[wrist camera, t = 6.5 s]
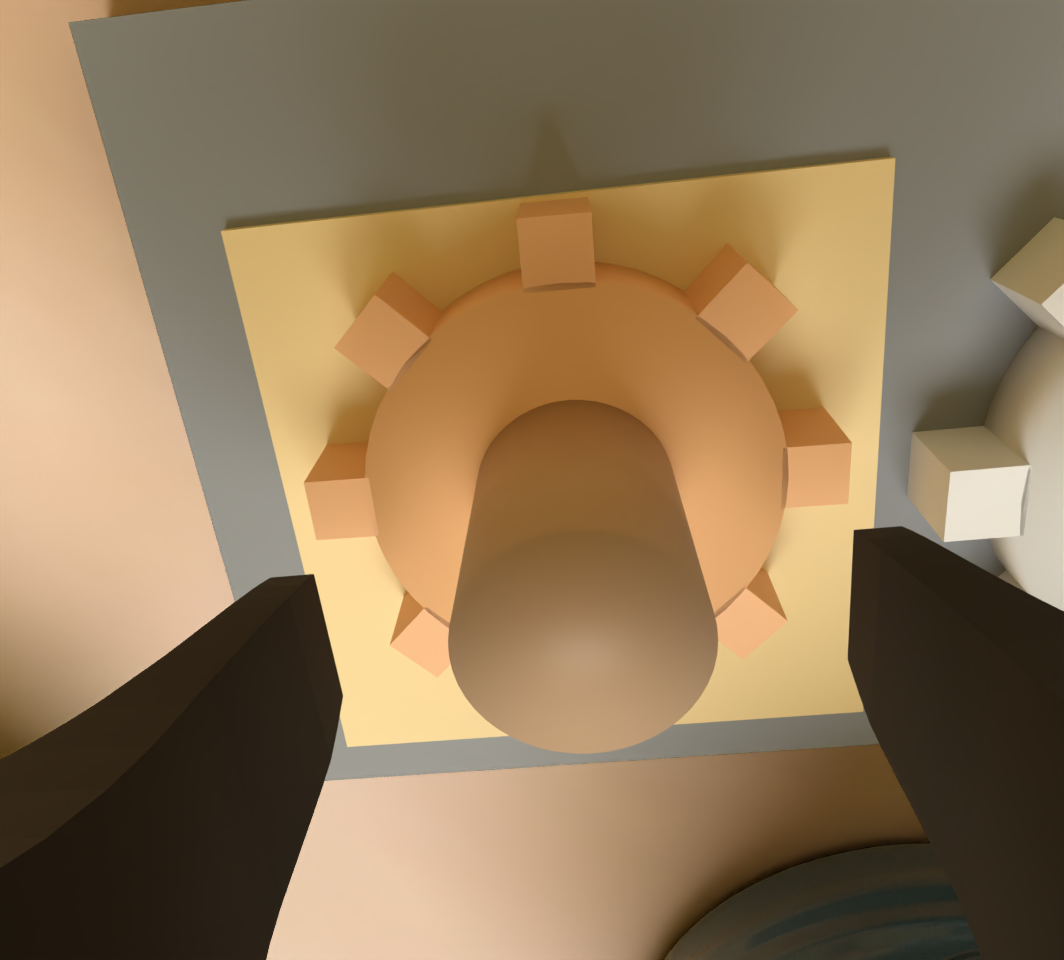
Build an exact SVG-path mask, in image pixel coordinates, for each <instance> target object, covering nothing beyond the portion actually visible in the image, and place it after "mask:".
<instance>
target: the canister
mask: <svg viewBox="0 0 1064 960" xmlns="http://www.w3.org/2000/svg"><path fill="white" fill-rule="evenodd" d="M664 960H982V957H981V955H980V952H979V949H978V947H977V944H976V942H975V939H974V937H973V934H972V932H971V929H970V926H969V924H968V921H967V919H966V916H965V914H964V911H963V909H962V906H961V904H960V902H959V900H958V898H957V895H956V893H955V891H954V889H953V887H952V885H951V882H950V880H949V878H948V876H947V874H946V872H945V870H944V868H943V866H942V864H941V862H940V860H939V858H938V856H937V854H936V852H935V850H934V848H933V846H932V845H931V843H917V844H898V845H888V846H878V847H871V848H865V849H859V850H853V851H848V852H844V853H839V854H835V855H831V856H827V857H824V858H820V859H816V860H813V861H809V862H806V863H803V864H800V865H797V866H795V867H792V868H789V869H787V870H784V871H782V872H779V873H777V874H775V875H772V876H770V877H768V878H766V879H764V880H762V881H759V882H757V883H755V884H753V885H751V886H749V887H748V888H746V889H744V890H742V891H741V892H739V893H737V894H735V895H734V896H732V897H731V898H729V899H727V900H726V901H724V902H723V903H721V904H720V905H718V906H717V907H716V908H714V909H713V910H712V911H710V912H709V913H708V914H706V915H705V916H704V917H703V918H702V919H700V920H699V921H698V922H697V923H696V924H695V925H694V926H693V927H691V928H690V929H689V930H688V931H687V932H686V933H685V934H684V936H683V937H682V938H681V939H680V940H679V941H678V942H677V943H676V944H675V946H674V947H673V948H672V949H671V951H670V952H669V953H668V955H667V956H666V958H665V959H664Z"/></svg>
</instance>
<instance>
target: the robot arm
mask: <svg viewBox="0 0 1064 960" xmlns="http://www.w3.org/2000/svg"><path fill="white" fill-rule="evenodd" d="M848 662H849V665H850V668H851V671H852V674H853V677H854V681H855V684H856V687H857V690H858V693H859V696H860V698H861V701H862V704H863V707H864V709H865V712H866V715H867V718H868V720H869V723H870V725H871V727H872V729H873V732H874V734H875V736H876V738H877V740H878V742H879V744H880V746H881V748H882V750H883V751H884V753H885V755H886V757H887V759H888V761H889V763H890V765H891V767H892V769H893V771H894V773H895V775H896V777H897V779H898V781H899V783H900V785H901V787H902V789H903V791H904V792H905V794H906V796H907V798H908V800H909V802H910V804H911V806H912V808H913V810H914V812H915V814H916V816H917V818H918V819H919V821H920V823H921V825H922V827H923V829H924V831H925V833H926V835H927V837H928V839H929V841H930V843H931V845H932V846H933V848H934V850H935V852H936V854H937V856H938V858H939V860H940V862H941V864H942V866H943V868H944V870H945V872H946V874H947V876H948V878H949V880H950V882H951V885H952V887H953V889H954V891H955V893H956V895H957V898H958V900H959V902H960V904H961V906H962V909H963V911H964V914H965V916H966V919H967V921H968V924H969V926H970V929H971V932H972V934H973V937H974V939H975V942H976V944H977V947H978V949H979V952H980V955H981V957H982V960H1064V611H1062V610H1060V609H1058V608H1056V607H1054V606H1052V605H1050V604H1048V603H1046V602H1044V601H1042V600H1040V599H1038V598H1036V597H1034V596H1032V595H1030V594H1029V593H1027V592H1025V591H1023V590H1021V589H1019V588H1017V587H1015V586H1013V585H1012V584H1010V583H1008V582H1006V581H1004V580H1002V579H1000V578H999V577H997V576H995V575H993V574H991V573H989V572H988V571H986V570H984V569H982V568H980V567H978V566H977V565H975V564H973V563H971V562H970V561H968V560H966V559H964V558H962V557H961V556H959V555H957V554H955V553H953V552H952V551H950V550H948V549H946V548H944V547H943V546H941V545H939V544H937V543H935V542H933V541H931V540H930V539H928V538H926V537H924V536H922V535H920V534H918V533H916V532H914V531H912V530H910V529H907V528H905V527H903V526H896V527H883V528H871V529H859V530H854V534H853V555H852V575H851V596H850V617H849V638H848ZM342 700H343V693H342V689H341V684H340V680H339V676H338V672H337V668H336V664H335V659H334V655H333V651H332V647H331V643H330V639H329V635H328V630H327V626H326V622H325V618H324V614H323V610H322V605H321V601H320V597H319V593H318V589H317V585H316V581H315V576H314V574H307V575H295V576H283V577H271V578H269V579H267V580H266V581H264V582H262V583H261V584H259V585H258V586H256V587H255V588H253V589H252V590H250V591H249V592H248V593H246V594H245V595H244V596H242V597H241V598H240V599H238V600H237V601H236V602H234V603H233V604H232V605H230V606H229V607H228V608H226V609H225V610H224V611H223V612H221V613H220V614H219V615H217V616H216V617H215V618H214V619H212V620H211V621H210V622H208V623H207V624H206V625H204V626H203V627H202V628H201V629H199V630H198V631H197V632H195V633H194V634H193V635H191V636H190V637H189V638H187V639H186V640H185V641H184V642H182V643H181V644H180V645H178V646H177V647H176V648H174V649H173V650H172V651H170V652H169V653H168V654H166V655H165V656H164V657H162V658H161V659H160V660H158V661H157V662H155V663H154V664H152V665H151V666H150V667H148V668H147V669H145V670H144V671H143V672H141V673H140V674H138V675H137V676H135V677H134V678H133V679H131V680H130V681H128V682H127V683H126V684H124V685H123V686H121V687H120V688H118V689H117V690H116V691H114V692H113V693H111V694H110V695H108V696H107V697H106V698H104V699H103V700H101V701H100V702H98V703H97V704H95V705H94V706H92V707H90V708H89V709H87V710H86V711H84V712H83V713H81V714H79V715H78V716H76V717H75V718H73V719H71V720H70V721H68V722H67V723H65V724H63V725H62V726H60V727H58V728H56V729H55V730H53V731H51V732H50V733H48V734H46V735H44V736H43V737H41V738H39V739H38V740H36V741H34V742H33V743H31V744H29V745H27V746H26V747H24V748H22V749H20V750H18V751H17V752H15V753H13V754H11V755H9V756H7V757H5V758H3V759H1V760H0V960H266V958H267V953H268V949H269V945H270V941H271V938H272V935H273V931H274V928H275V925H276V921H277V918H278V915H279V911H280V908H281V905H282V902H283V899H284V896H285V894H286V891H287V888H288V885H289V882H290V879H291V876H292V873H293V871H294V868H295V865H296V862H297V859H298V856H299V853H300V850H301V848H302V845H303V842H304V839H305V836H306V833H307V830H308V827H309V825H310V822H311V819H312V816H313V813H314V810H315V807H316V804H317V801H318V798H319V795H320V792H321V789H322V786H323V783H324V781H325V778H326V774H327V771H328V768H329V765H330V762H331V758H332V753H333V748H334V744H335V739H336V734H337V729H338V723H339V717H340V711H341V706H342Z"/></svg>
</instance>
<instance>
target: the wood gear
mask: <svg viewBox="0 0 1064 960" xmlns="http://www.w3.org/2000/svg"><path fill="white" fill-rule="evenodd" d="M516 221H517V231H518V242H519V252H520V263H521V269H518V270H514V271H511V272H507V273H504V274H502V275H500V276H498V277H495V278H493V279H491V280H489V281H486V282H484V283H482V284H480V285H478V286H477V287H475V288H473V289H472V290H470V291H468V292H467V293H465V294H464V295H462V296H460V297H459V298H457V299H456V300H455V301H454V302H452V303H451V304H450V305H449V306H447V307H446V308H445V309H444V310H443V311H441V310H440V309H438V308H437V307H436V306H435V305H433V304H432V303H431V302H430V301H428V300H427V299H426V298H425V297H423V296H422V295H421V294H420V293H418V292H417V291H416V290H415V289H413V288H412V287H411V286H410V285H408V284H407V283H406V282H405V281H403V280H402V279H401V278H400V277H398V276H397V275H396V274H395V273H394V272H392V273H391V274H390V276H389V277H388V278H387V280H386V281H385V282H384V283H383V285H382V286H381V287H380V288H379V290H378V291H377V292H376V294H375V295H374V296H373V297H372V299H371V300H370V301H369V303H368V304H367V305H366V307H365V308H364V309H363V310H362V312H361V313H360V314H359V316H358V317H357V318H356V320H355V321H354V322H353V324H352V325H351V326H350V327H349V329H348V330H347V331H346V333H345V334H344V335H343V337H342V338H341V339H340V341H339V342H338V343H337V344H336V346H335V347H334V348H335V349H336V350H337V351H338V352H340V353H341V354H342V355H344V356H345V357H346V358H348V359H349V360H350V361H352V362H353V363H354V364H356V365H357V366H358V367H360V368H361V369H362V370H363V371H365V372H366V373H367V374H369V375H370V376H371V377H373V378H374V379H375V380H377V381H378V382H379V383H381V384H382V385H383V386H384V387H386V388H387V389H388V390H387V392H386V394H385V396H384V398H383V400H382V402H381V404H380V406H379V408H378V410H377V413H376V416H375V419H374V422H373V425H372V428H371V431H370V436H369V441H368V442H357V443H344V444H330V445H326V447H325V448H324V450H323V452H322V453H321V455H320V457H319V458H318V460H317V462H316V463H315V465H314V466H313V468H312V470H311V471H310V473H309V475H308V476H307V478H306V480H305V481H304V486H305V491H306V495H307V500H308V504H309V509H310V514H311V518H312V523H313V528H314V532H315V537H316V540H328V539H342V538H357V537H372V536H376V538H377V541H378V543H379V546H380V548H381V551H382V553H383V555H384V557H385V558H386V560H387V562H388V564H389V565H390V567H391V569H392V571H393V572H394V574H395V576H396V577H397V578H398V579H399V581H400V582H401V583H402V585H403V586H404V587H405V589H406V590H407V591H408V592H407V594H406V595H405V596H404V597H403V600H402V604H401V607H400V611H399V614H398V618H397V621H396V625H395V628H394V632H393V635H392V639H391V642H390V646H391V647H393V648H394V649H396V650H397V651H399V652H400V653H402V654H403V655H405V656H406V657H408V658H409V659H411V660H412V661H414V662H415V663H416V664H418V665H419V666H421V667H422V668H424V669H425V670H427V671H428V672H430V673H431V674H433V675H434V676H436V677H437V678H438V677H439V676H440V675H441V674H442V673H443V672H444V671H445V670H446V669H447V668H448V667H449V665H450V664H451V667H452V671H453V674H454V676H455V679H456V681H457V684H458V686H459V687H460V689H461V691H462V693H463V694H464V696H465V698H466V699H467V700H468V701H469V703H470V704H471V705H472V706H473V708H474V709H475V710H476V711H477V712H478V713H479V714H480V715H481V716H482V717H483V718H484V719H485V720H486V721H488V722H489V723H490V724H492V725H493V726H494V727H496V728H497V729H498V730H500V731H502V732H504V733H505V734H507V735H509V736H510V737H512V738H515V739H517V740H519V741H521V742H524V743H526V744H529V745H532V746H535V747H538V748H541V749H546V750H551V751H556V752H563V753H573V754H591V753H601V752H609V751H614V750H618V749H623V748H626V747H629V746H633V745H636V744H639V743H641V742H643V741H646V740H648V739H650V738H652V737H654V736H656V735H658V734H659V733H661V732H663V731H665V730H666V729H668V728H669V727H671V726H672V725H673V724H674V723H676V722H677V721H678V720H680V719H681V718H682V717H683V716H684V715H685V714H686V713H687V712H688V711H689V710H690V709H691V708H692V707H693V705H694V704H695V703H696V702H697V700H698V699H699V698H700V697H701V695H702V693H703V692H704V690H705V688H706V686H707V685H708V683H709V680H710V678H711V675H712V673H713V670H714V667H715V663H716V658H717V652H718V641H719V642H721V643H722V644H723V645H725V646H726V647H727V648H729V649H730V650H731V651H733V652H734V653H735V654H736V655H738V656H739V657H740V658H742V659H744V658H746V657H747V656H748V655H749V654H750V653H751V652H753V651H754V650H755V649H756V648H757V647H758V646H759V645H761V644H762V643H763V642H764V641H765V640H766V639H768V638H769V637H770V636H771V635H772V634H773V633H774V632H776V631H777V630H778V629H779V628H780V627H781V626H783V625H784V624H785V623H786V622H787V621H788V620H787V618H786V615H785V613H784V611H783V608H782V606H781V604H780V601H779V599H778V596H777V594H776V592H775V589H774V587H773V584H772V582H771V580H770V577H769V575H768V573H767V572H766V571H764V570H763V569H762V568H761V567H762V565H763V563H764V561H765V560H766V558H767V556H768V554H769V553H770V551H771V549H772V546H773V544H774V541H775V539H776V536H777V534H778V531H779V529H780V526H781V522H782V518H783V514H784V510H785V508H793V507H808V506H823V505H837V504H848V498H849V482H850V466H851V450H852V442H851V441H850V440H849V438H848V437H847V436H846V435H845V433H844V432H843V431H842V429H841V428H840V427H839V426H838V424H837V423H836V422H835V421H834V419H833V418H832V417H831V415H830V414H829V413H828V412H827V410H826V409H825V408H824V407H823V408H810V409H797V410H783V411H777V409H776V406H775V403H774V401H773V399H772V397H771V395H770V393H769V391H768V389H767V388H766V386H765V384H764V382H763V380H762V378H761V377H760V375H759V374H758V372H757V371H756V369H755V368H754V366H753V365H752V363H751V361H750V359H751V358H752V357H753V356H754V355H755V354H756V353H757V352H758V351H759V350H760V349H761V348H762V347H763V346H764V345H765V344H766V343H767V342H768V341H769V340H770V339H771V338H772V337H773V336H774V335H775V333H776V332H777V331H778V330H779V329H780V328H781V327H782V326H783V325H784V324H785V323H786V322H787V321H788V320H789V319H790V318H791V317H792V316H793V315H794V314H795V313H796V312H797V311H798V309H797V308H796V307H795V306H794V305H793V304H792V303H791V302H790V301H789V300H788V299H787V298H786V297H785V296H784V295H783V294H782V293H781V292H780V291H779V290H778V289H777V288H776V287H775V286H774V285H773V284H772V283H771V282H770V281H769V280H768V279H766V278H765V277H764V276H763V275H762V274H761V273H760V272H759V271H758V270H757V269H756V268H755V267H753V266H752V265H751V264H750V263H749V262H748V261H747V260H746V259H745V258H744V257H743V256H742V255H740V254H739V253H738V252H737V251H736V250H735V249H734V248H733V247H732V246H731V245H730V244H728V243H727V244H726V245H725V247H724V248H723V249H722V250H721V251H720V252H719V253H718V254H717V255H716V256H715V257H714V259H713V260H712V261H711V262H710V263H709V264H708V265H707V266H706V267H705V268H704V269H703V271H702V272H701V273H700V274H699V275H698V276H697V277H696V278H695V279H694V280H693V281H692V283H691V284H690V285H689V286H688V287H687V288H686V289H685V290H684V291H683V290H681V289H679V288H677V287H676V286H674V285H672V284H670V283H669V282H667V281H665V280H663V279H660V278H658V277H655V276H653V275H650V274H648V273H645V272H643V271H640V270H636V269H632V268H628V267H624V266H620V265H616V264H611V263H602V262H594V246H593V229H592V213H591V208H590V204H589V200H588V197H582V198H571V199H560V200H549V201H538V202H527V203H520V206H519V210H518V214H517V218H516Z"/></svg>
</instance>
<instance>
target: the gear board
mask: <svg viewBox="0 0 1064 960" xmlns="http://www.w3.org/2000/svg"><path fill="white" fill-rule="evenodd" d="M69 26H70V29H71V33H72V36H73V40H74V43H75V47H76V50H77V54H78V57H79V61H80V64H81V68H82V71H83V75H84V78H85V82H86V85H87V89H88V92H89V96H90V99H91V103H92V106H93V109H94V113H95V116H96V120H97V123H98V127H99V130H100V134H101V137H102V141H103V144H104V148H105V151H106V155H107V158H108V162H109V165H110V169H111V172H112V176H113V179H114V183H115V186H116V190H117V193H118V197H119V200H120V203H121V207H122V210H123V214H124V217H125V221H126V224H127V228H128V231H129V235H130V238H131V242H132V245H133V249H134V252H135V256H136V259H137V263H138V266H139V270H140V273H141V277H142V280H143V284H144V287H145V290H146V294H147V297H148V301H149V304H150V308H151V311H152V315H153V318H154V322H155V325H156V329H157V332H158V336H159V339H160V343H161V346H162V350H163V353H164V357H165V360H166V364H167V367H168V371H169V374H170V378H171V381H172V384H173V388H174V391H175V395H176V398H177V402H178V405H179V409H180V412H181V416H182V419H183V423H184V426H185V430H186V433H187V437H188V440H189V444H190V447H191V451H192V454H193V458H194V461H195V465H196V468H197V471H198V475H199V478H200V482H201V485H202V489H203V492H204V496H205V499H206V503H207V506H208V510H209V513H210V517H211V520H212V524H213V527H214V531H215V534H216V538H217V541H218V545H219V548H220V552H221V555H222V559H223V562H224V565H225V569H226V572H227V576H228V579H229V583H230V586H231V590H232V593H233V597H234V600H235V602H236V601H237V600H238V599H240V598H241V597H242V596H244V595H245V594H246V593H248V592H249V591H250V590H252V589H253V588H255V587H256V586H258V585H259V584H261V583H262V582H264V581H266V580H267V579H269V578H271V577H283V576H295V575H307V574H314V576H315V581H316V585H317V589H318V593H319V597H320V601H321V605H322V610H323V614H324V618H325V622H326V626H327V630H328V635H329V639H330V643H331V647H332V651H333V655H334V659H335V664H336V668H337V672H338V676H339V680H340V684H341V689H342V693H343V700H342V706H341V711H340V717H339V723H338V729H337V734H336V739H335V744H334V748H333V753H332V758H331V762H330V765H329V768H328V771H327V774H326V778H325V781H329V780H344V779H359V778H374V777H389V776H404V775H420V774H435V773H450V772H465V771H480V770H495V769H510V768H526V767H541V766H556V765H571V764H586V763H601V762H617V761H632V760H647V759H662V758H677V757H692V756H707V755H723V754H738V753H753V752H768V751H783V750H798V749H813V748H829V747H844V746H859V745H874V744H879V742H878V740H877V738H876V736H875V734H874V732H873V729H872V727H871V725H870V723H869V720H868V718H867V715H866V712H865V709H864V707H863V704H862V701H861V698H860V696H859V693H858V690H857V687H856V684H855V681H854V677H853V674H852V671H851V668H850V665H849V662H848V638H849V617H850V596H851V575H852V555H853V534H854V530H859V529H871V528H883V527H896V526H903V527H905V528H907V529H910V530H912V531H914V532H916V533H918V534H920V535H922V536H924V537H926V538H928V539H930V540H931V541H933V542H935V543H937V544H939V545H941V546H943V547H944V548H946V549H948V550H950V551H952V552H953V553H955V554H957V555H959V556H961V557H962V558H964V559H966V560H968V561H970V562H971V563H973V564H975V565H977V566H978V567H980V568H982V569H984V570H986V571H988V572H989V573H991V574H993V575H995V576H997V577H999V578H1000V579H1002V580H1004V581H1006V582H1008V583H1010V584H1012V585H1013V586H1015V587H1017V588H1019V589H1021V590H1023V591H1025V592H1027V593H1029V594H1030V595H1032V596H1034V597H1036V598H1038V599H1040V600H1042V601H1044V602H1046V603H1048V604H1050V605H1052V606H1054V607H1056V608H1058V609H1060V610H1062V611H1064V0H244V1H236V2H228V3H220V4H212V5H204V6H196V7H188V8H180V9H172V10H164V11H156V12H148V13H140V14H132V15H124V16H116V17H108V18H100V19H92V20H84V21H76V22H69ZM582 197H588V200H589V204H590V208H591V213H592V229H593V246H594V262H602V263H611V264H616V265H620V266H624V267H628V268H632V269H636V270H640V271H643V272H645V273H648V274H650V275H653V276H655V277H658V278H660V279H663V280H665V281H667V282H669V283H670V284H672V285H674V286H676V287H677V288H679V289H681V290H683V291H684V290H685V289H686V288H687V287H688V286H689V285H690V284H691V283H692V281H693V280H694V279H695V278H696V277H697V276H698V275H699V274H700V273H701V272H702V271H703V269H704V268H705V267H706V266H707V265H708V264H709V263H710V262H711V261H712V260H713V259H714V257H715V256H716V255H717V254H718V253H719V252H720V251H721V250H722V249H723V248H724V247H725V245H726V244H727V243H728V244H730V245H731V246H732V247H733V248H734V249H735V250H736V251H737V252H738V253H739V254H740V255H742V256H743V257H744V258H745V259H746V260H747V261H748V262H749V263H750V264H751V265H752V266H753V267H755V268H756V269H757V270H758V271H759V272H760V273H761V274H762V275H763V276H764V277H765V278H766V279H768V280H769V281H770V282H771V283H772V284H773V285H774V286H775V287H776V288H777V289H778V290H779V291H780V292H781V293H782V294H783V295H784V296H785V297H786V298H787V299H788V300H789V301H790V302H791V303H792V304H793V305H794V306H795V307H796V308H797V309H798V311H797V312H796V313H795V314H794V315H793V316H792V317H791V318H790V319H789V320H788V321H787V322H786V323H785V324H784V325H783V326H782V327H781V328H780V329H779V330H778V331H777V332H776V333H775V335H774V336H773V337H772V338H771V339H770V340H769V341H768V342H767V343H766V344H765V345H764V346H763V347H762V348H761V349H760V350H759V351H758V352H757V353H756V354H755V355H754V356H753V357H752V358H751V359H750V361H751V363H752V365H753V366H754V368H755V369H756V371H757V372H758V374H759V375H760V377H761V378H762V380H763V382H764V384H765V386H766V388H767V389H768V391H769V393H770V395H771V397H772V399H773V401H774V403H775V406H776V409H777V411H783V410H797V409H810V408H823V407H824V408H825V409H826V410H827V412H828V413H829V414H830V415H831V417H832V418H833V419H834V421H835V422H836V423H837V424H838V426H839V427H840V428H841V429H842V431H843V432H844V433H845V435H846V436H847V437H848V438H849V440H850V441H851V442H852V450H851V466H850V482H849V498H848V504H837V505H823V506H808V507H793V508H785V510H784V514H783V518H782V522H781V526H780V529H779V531H778V534H777V536H776V539H775V541H774V544H773V546H772V549H771V551H770V553H769V554H768V556H767V558H766V560H765V561H764V563H763V565H762V567H761V568H762V569H763V570H764V571H766V572H767V573H768V575H769V577H770V580H771V582H772V584H773V587H774V589H775V592H776V594H777V596H778V599H779V601H780V604H781V606H782V608H783V611H784V613H785V615H786V618H787V620H788V621H787V622H786V623H785V624H784V625H783V626H781V627H780V628H779V629H778V630H777V631H776V632H774V633H773V634H772V635H771V636H770V637H769V638H768V639H766V640H765V641H764V642H763V643H762V644H761V645H759V646H758V647H757V648H756V649H755V650H754V651H753V652H751V653H750V654H749V655H748V656H747V657H746V658H744V659H742V658H740V657H739V656H738V655H736V654H735V653H734V652H733V651H731V650H730V649H729V648H727V647H726V646H725V645H723V644H722V643H721V642H719V641H718V652H717V658H716V663H715V667H714V670H713V673H712V675H711V678H710V680H709V683H708V685H707V686H706V688H705V690H704V692H703V693H702V695H701V697H700V698H699V699H698V700H697V702H696V703H695V704H694V705H693V707H692V708H691V709H690V710H689V711H688V712H687V713H686V714H685V715H684V716H683V717H682V718H681V719H680V720H678V721H677V722H676V723H674V724H673V725H672V726H671V727H669V728H668V729H666V730H665V731H663V732H661V733H659V734H658V735H656V736H654V737H652V738H650V739H648V740H646V741H643V742H641V743H639V744H636V745H633V746H629V747H626V748H623V749H618V750H614V751H609V752H601V753H591V754H573V753H563V752H556V751H551V750H546V749H541V748H538V747H535V746H532V745H529V744H526V743H524V742H521V741H519V740H517V739H515V738H512V737H510V736H509V735H507V734H505V733H504V732H502V731H500V730H498V729H497V728H496V727H494V726H493V725H492V724H490V723H489V722H488V721H486V720H485V719H484V718H483V717H482V716H481V715H480V714H479V713H478V712H477V711H476V710H475V709H474V708H473V706H472V705H471V704H470V703H469V701H468V700H467V699H466V698H465V696H464V694H463V693H462V691H461V689H460V687H459V686H458V684H457V681H456V679H455V676H454V674H453V671H452V667H451V664H450V665H449V667H448V668H447V669H446V670H445V671H444V672H443V673H442V674H441V675H440V676H439V677H438V678H437V677H436V676H434V675H433V674H431V673H430V672H428V671H427V670H425V669H424V668H422V667H421V666H419V665H418V664H416V663H415V662H414V661H412V660H411V659H409V658H408V657H406V656H405V655H403V654H402V653H400V652H399V651H397V650H396V649H394V648H393V647H391V646H390V642H391V639H392V635H393V632H394V628H395V625H396V621H397V618H398V614H399V611H400V607H401V604H402V600H403V597H404V596H405V595H406V594H407V592H408V591H407V590H406V589H405V587H404V586H403V585H402V583H401V582H400V581H399V579H398V578H397V577H396V576H395V574H394V572H393V571H392V569H391V567H390V565H389V564H388V562H387V560H386V558H385V557H384V555H383V553H382V551H381V548H380V546H379V543H378V541H377V538H376V536H372V537H357V538H342V539H328V540H316V537H315V532H314V528H313V523H312V518H311V514H310V509H309V504H308V500H307V495H306V491H305V486H304V481H305V480H306V478H307V476H308V475H309V473H310V471H311V470H312V468H313V466H314V465H315V463H316V462H317V460H318V458H319V457H320V455H321V453H322V452H323V450H324V448H325V447H326V445H330V444H344V443H357V442H368V441H369V436H370V431H371V428H372V425H373V422H374V419H375V416H376V413H377V410H378V408H379V406H380V404H381V402H382V400H383V398H384V396H385V394H386V392H387V390H388V389H387V388H386V387H384V386H383V385H382V384H381V383H379V382H378V381H377V380H375V379H374V378H373V377H371V376H370V375H369V374H367V373H366V372H365V371H363V370H362V369H361V368H360V367H358V366H357V365H356V364H354V363H353V362H352V361H350V360H349V359H348V358H346V357H345V356H344V355H342V354H341V353H340V352H338V351H337V350H336V349H335V348H334V347H335V346H336V344H337V343H338V342H339V341H340V339H341V338H342V337H343V335H344V334H345V333H346V331H347V330H348V329H349V327H350V326H351V325H352V324H353V322H354V321H355V320H356V318H357V317H358V316H359V314H360V313H361V312H362V310H363V309H364V308H365V307H366V305H367V304H368V303H369V301H370V300H371V299H372V297H373V296H374V295H375V294H376V292H377V291H378V290H379V288H380V287H381V286H382V285H383V283H384V282H385V281H386V280H387V278H388V277H389V276H390V274H391V273H392V272H394V273H395V274H396V275H397V276H398V277H400V278H401V279H402V280H403V281H405V282H406V283H407V284H408V285H410V286H411V287H412V288H413V289H415V290H416V291H417V292H418V293H420V294H421V295H422V296H423V297H425V298H426V299H427V300H428V301H430V302H431V303H432V304H433V305H435V306H436V307H437V308H438V309H440V310H441V311H443V310H444V309H445V308H446V307H447V306H449V305H450V304H451V303H452V302H454V301H455V300H456V299H457V298H459V297H460V296H462V295H464V294H465V293H467V292H468V291H470V290H472V289H473V288H475V287H477V286H478V285H480V284H482V283H484V282H486V281H489V280H491V279H493V278H495V277H498V276H500V275H502V274H504V273H507V272H511V271H514V270H518V269H521V263H520V252H519V242H518V231H517V221H516V218H517V214H518V210H519V206H520V203H527V202H538V201H549V200H560V199H571V198H582Z"/></svg>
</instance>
